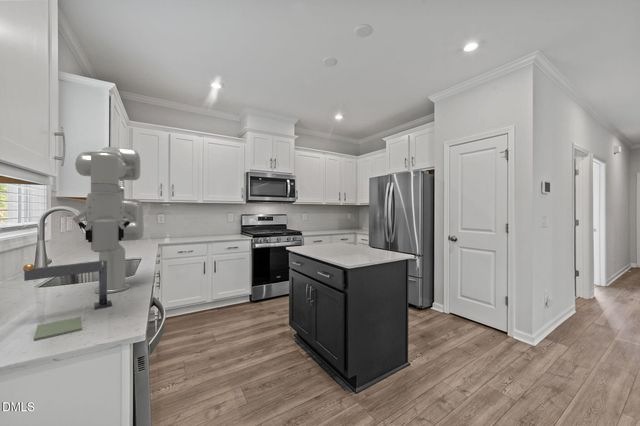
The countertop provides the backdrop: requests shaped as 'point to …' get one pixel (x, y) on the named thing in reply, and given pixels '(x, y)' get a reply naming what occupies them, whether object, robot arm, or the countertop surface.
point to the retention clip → (71, 273)
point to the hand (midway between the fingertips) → (105, 240)
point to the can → (104, 234)
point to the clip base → (102, 305)
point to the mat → (58, 328)
